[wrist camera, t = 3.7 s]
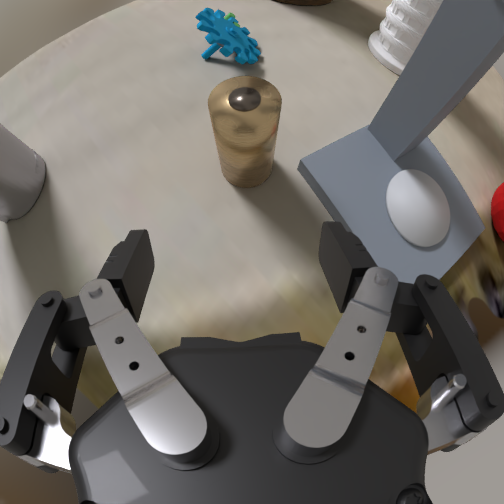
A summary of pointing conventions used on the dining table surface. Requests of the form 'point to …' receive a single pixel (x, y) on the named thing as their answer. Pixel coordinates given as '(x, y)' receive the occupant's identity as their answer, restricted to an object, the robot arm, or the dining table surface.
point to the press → (413, 151)
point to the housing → (245, 128)
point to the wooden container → (305, 2)
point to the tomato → (498, 211)
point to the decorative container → (402, 31)
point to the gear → (227, 36)
